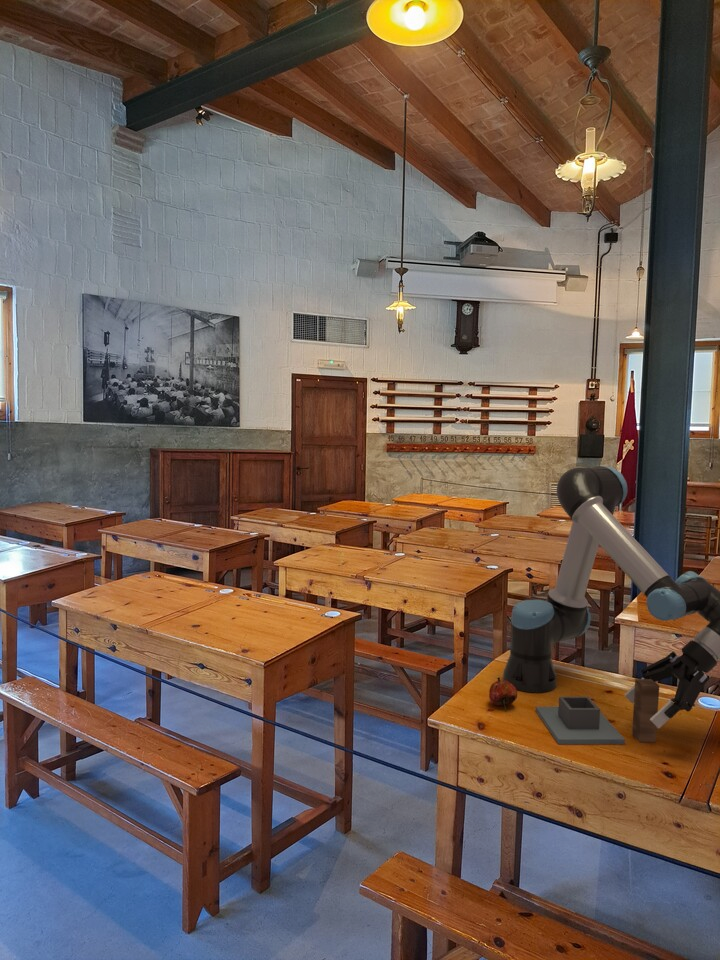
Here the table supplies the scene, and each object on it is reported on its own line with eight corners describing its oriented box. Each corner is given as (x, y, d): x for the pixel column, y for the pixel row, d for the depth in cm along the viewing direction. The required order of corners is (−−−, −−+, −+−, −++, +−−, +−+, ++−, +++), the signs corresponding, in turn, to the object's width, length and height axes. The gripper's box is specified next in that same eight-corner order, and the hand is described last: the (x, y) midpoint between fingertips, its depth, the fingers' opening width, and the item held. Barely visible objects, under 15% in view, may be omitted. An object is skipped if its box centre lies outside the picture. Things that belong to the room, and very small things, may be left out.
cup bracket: (535, 711, 176) (536, 688, 175) (595, 711, 177) (596, 688, 176) (558, 744, 158) (559, 719, 157) (624, 744, 159) (626, 719, 158)
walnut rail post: (632, 734, 164) (635, 679, 163) (648, 734, 164) (651, 679, 163) (639, 742, 160) (642, 685, 159) (655, 742, 160) (659, 685, 159)
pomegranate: (519, 718, 176) (515, 684, 184) (519, 704, 172) (515, 670, 179) (491, 719, 178) (487, 685, 185) (490, 705, 173) (486, 671, 180)
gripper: (747, 681, 148) (677, 747, 149) (687, 644, 173) (627, 700, 174) (725, 658, 148) (655, 724, 148) (669, 623, 172) (608, 680, 173)
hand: (640, 711), depth 161 cm, fingers open, 13 cm apart
